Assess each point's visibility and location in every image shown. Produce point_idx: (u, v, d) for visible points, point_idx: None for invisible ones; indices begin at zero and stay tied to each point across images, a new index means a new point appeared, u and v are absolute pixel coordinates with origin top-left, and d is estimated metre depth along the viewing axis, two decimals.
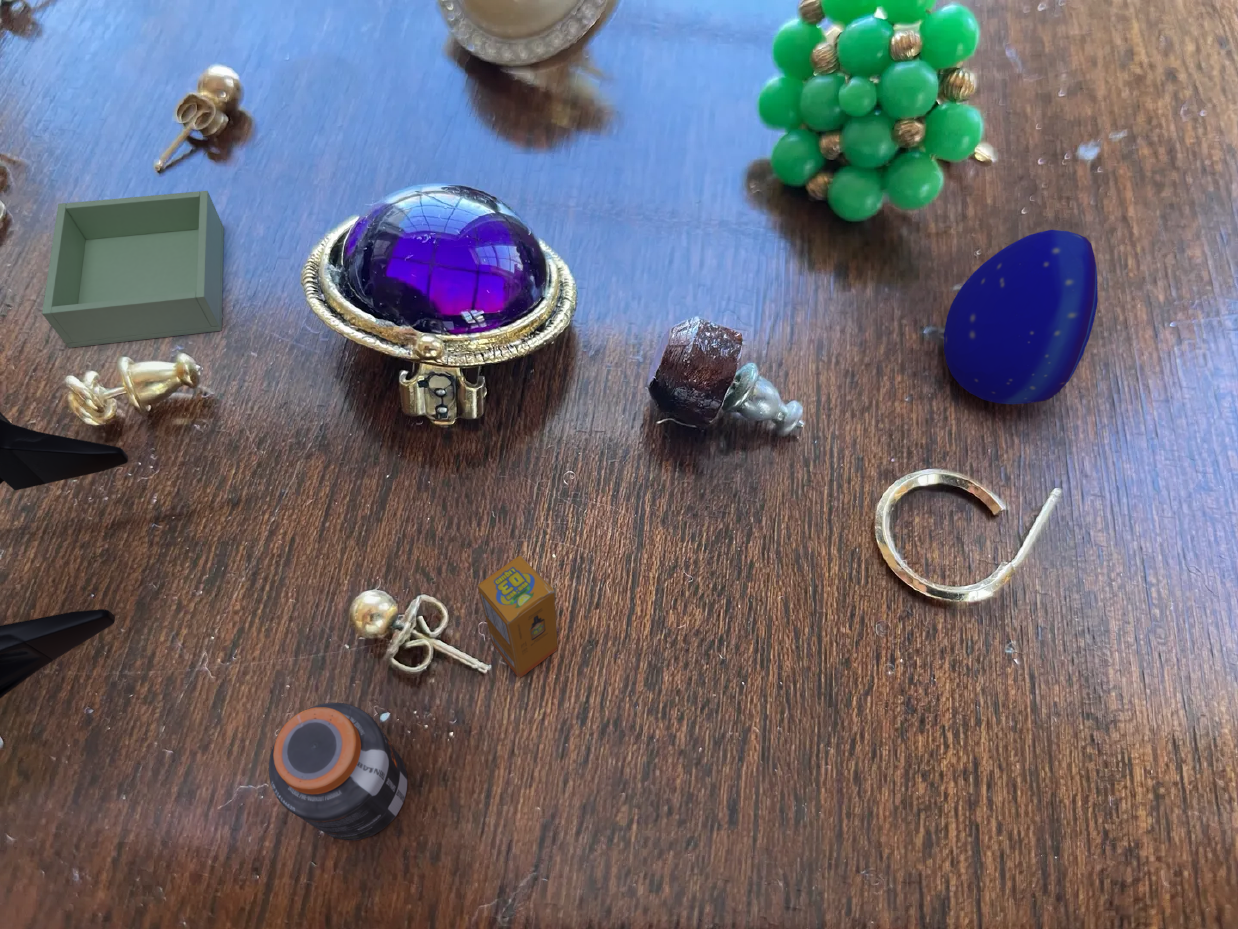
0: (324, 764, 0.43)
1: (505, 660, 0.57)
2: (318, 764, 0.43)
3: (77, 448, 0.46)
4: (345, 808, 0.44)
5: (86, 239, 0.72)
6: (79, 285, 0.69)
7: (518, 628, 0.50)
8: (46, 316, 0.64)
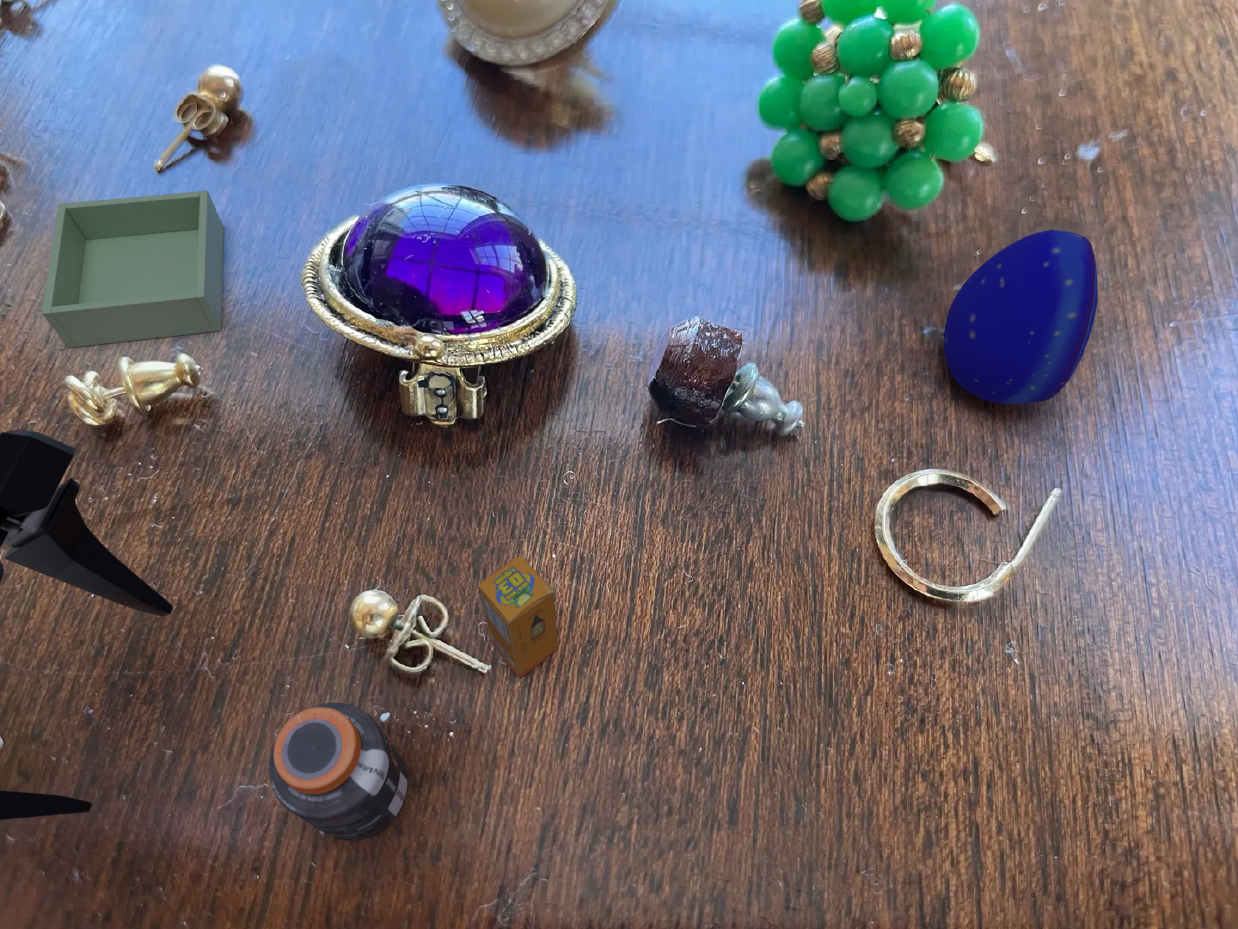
0: (324, 764, 0.43)
1: (505, 660, 0.57)
2: (318, 764, 0.43)
3: (137, 590, 0.42)
4: (345, 808, 0.44)
5: (86, 239, 0.72)
6: (79, 285, 0.69)
7: (518, 628, 0.50)
8: (46, 316, 0.64)
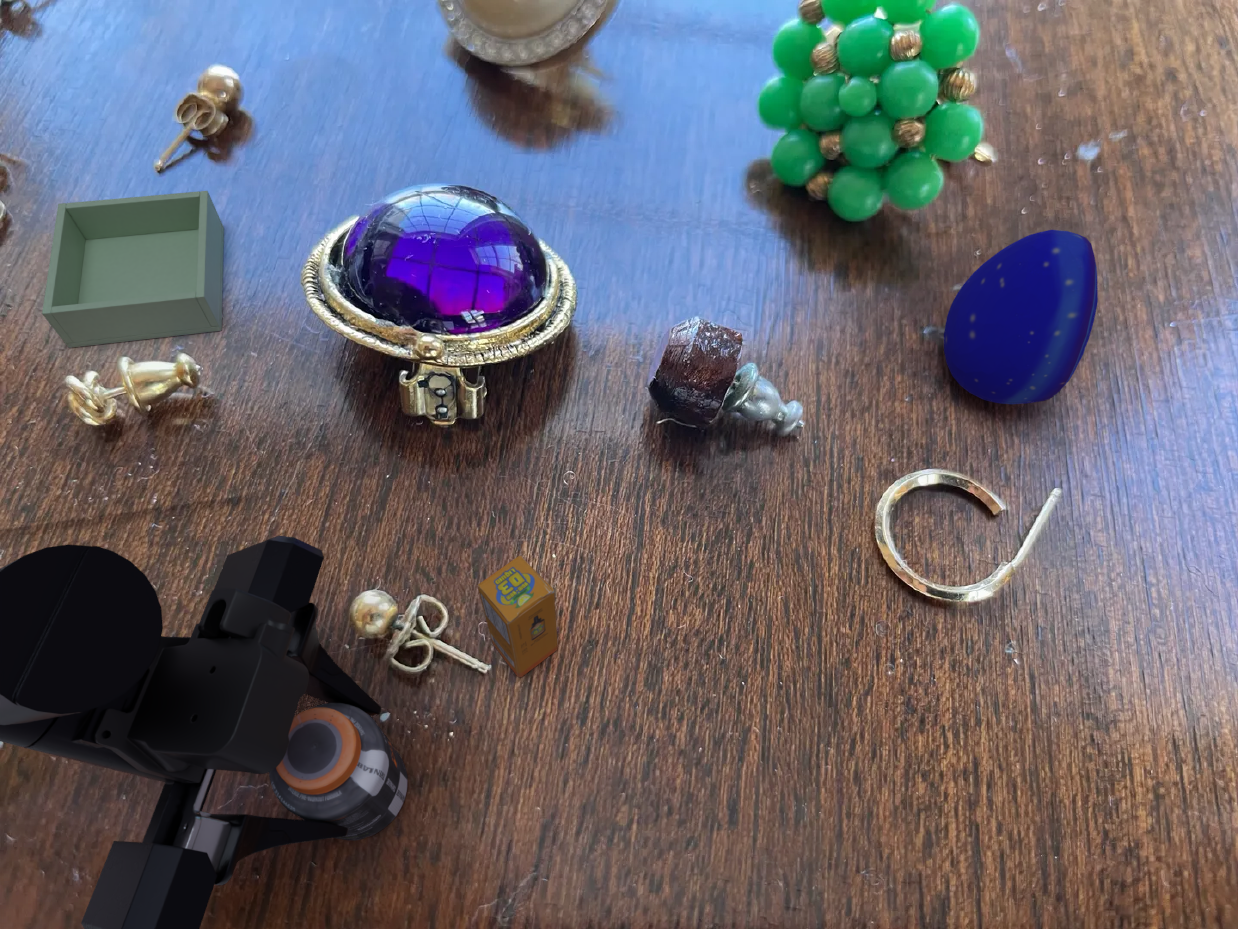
0: (325, 765, 0.43)
1: (505, 660, 0.57)
2: (318, 765, 0.43)
3: (356, 696, 0.47)
4: (345, 808, 0.44)
5: (86, 239, 0.72)
6: (79, 285, 0.69)
7: (518, 628, 0.50)
8: (46, 316, 0.64)
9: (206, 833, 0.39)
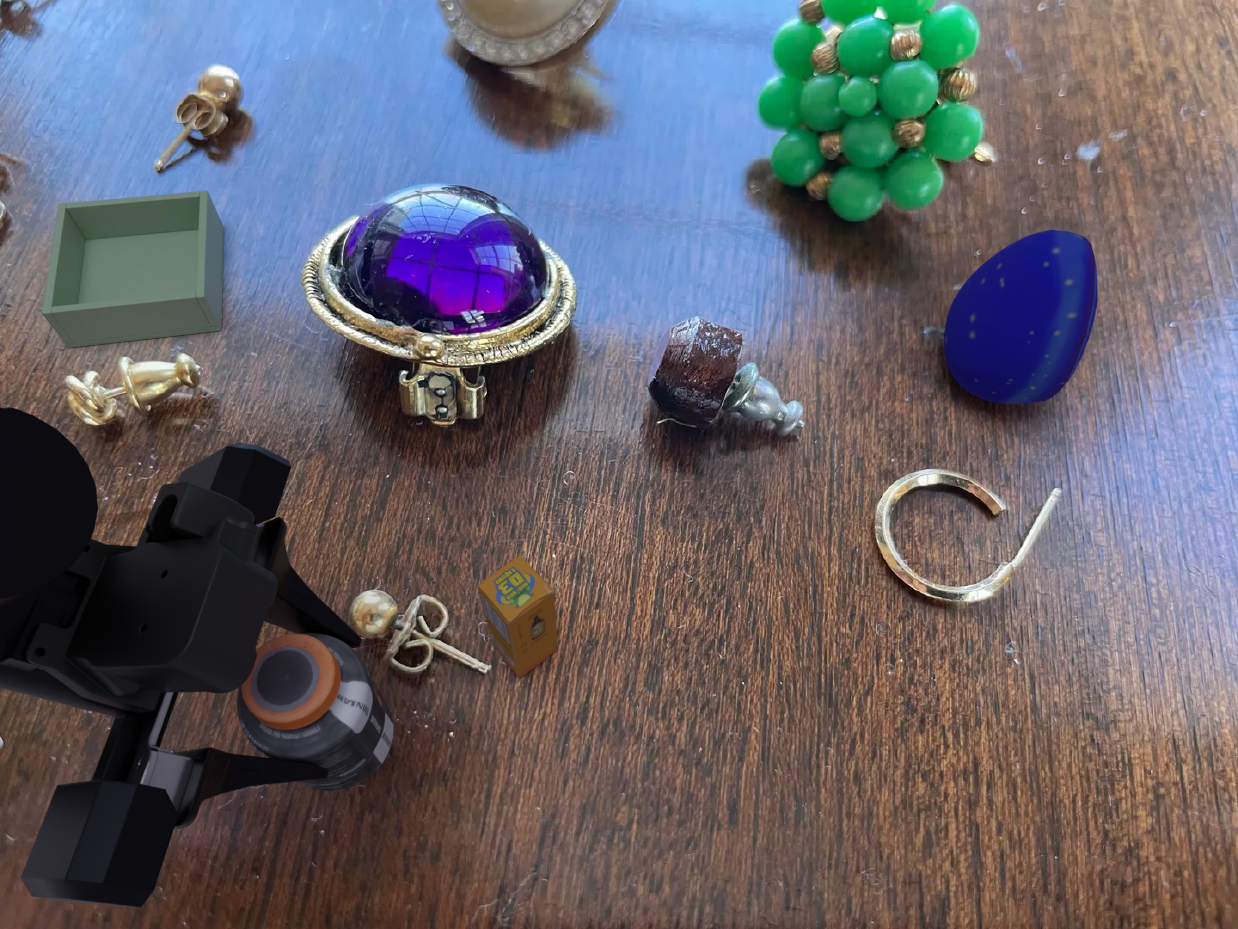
0: (300, 695, 0.38)
1: (505, 660, 0.57)
2: (292, 695, 0.38)
3: (333, 625, 0.42)
4: (325, 746, 0.39)
5: (86, 239, 0.72)
6: (79, 285, 0.69)
7: (518, 628, 0.50)
8: (46, 316, 0.64)
9: (164, 769, 0.34)
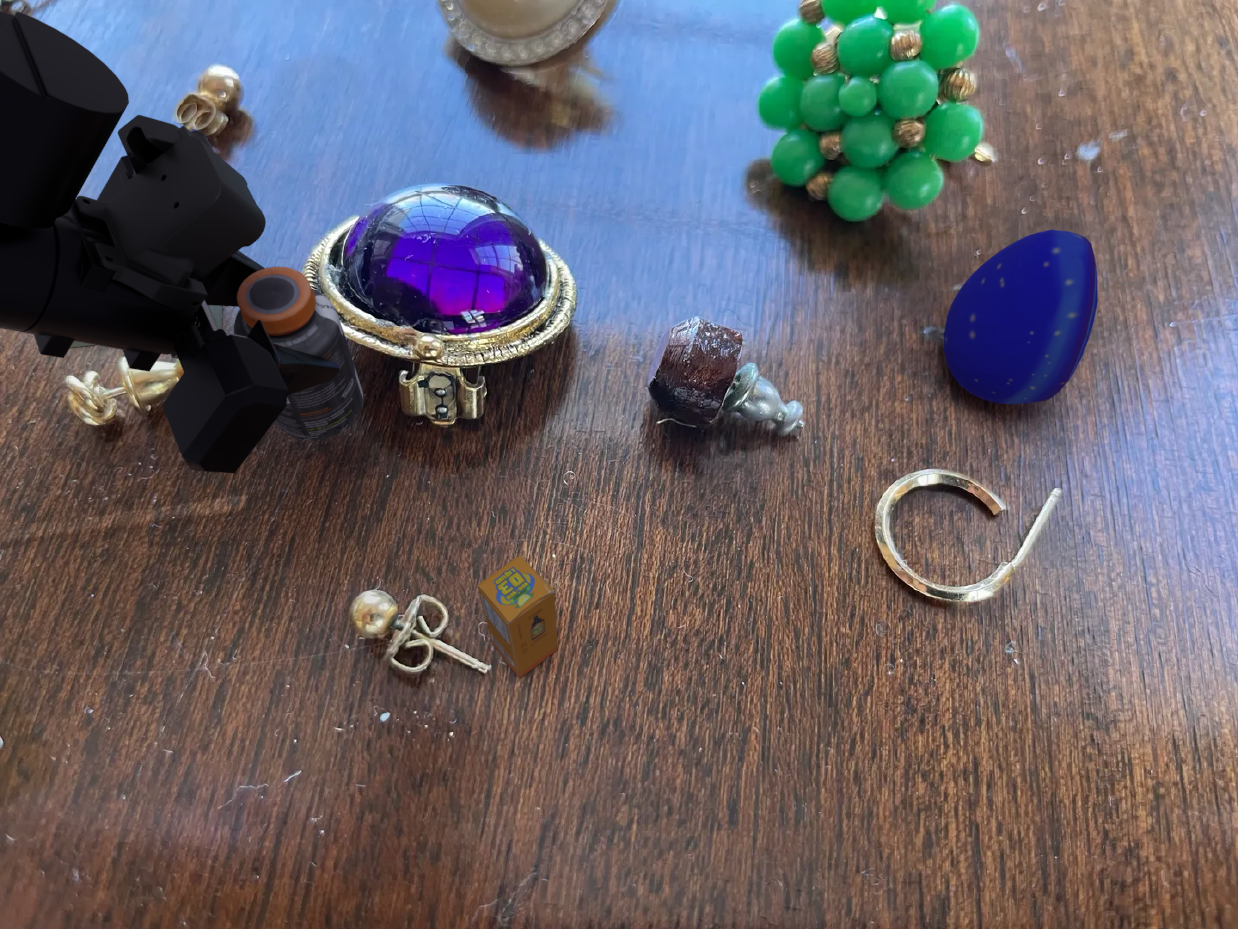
0: (291, 295, 0.48)
1: (505, 660, 0.57)
2: (286, 297, 0.48)
3: None
4: (327, 338, 0.50)
5: None
6: None
7: (518, 628, 0.50)
8: None
9: None
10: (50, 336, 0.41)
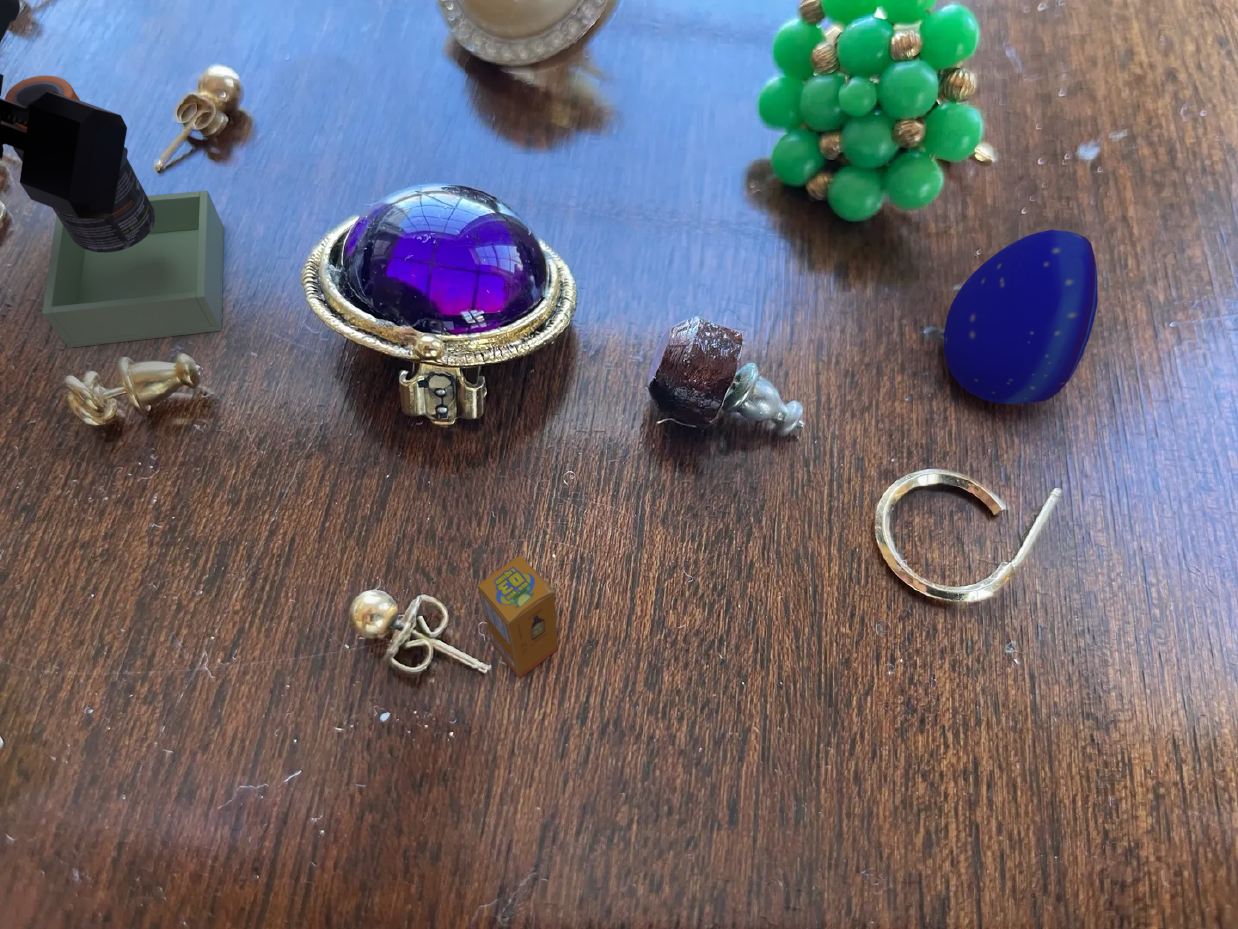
0: (56, 89, 0.55)
1: (505, 660, 0.57)
2: None
3: None
4: None
5: None
6: (79, 285, 0.69)
7: (518, 628, 0.50)
8: (46, 316, 0.64)
9: None
10: None
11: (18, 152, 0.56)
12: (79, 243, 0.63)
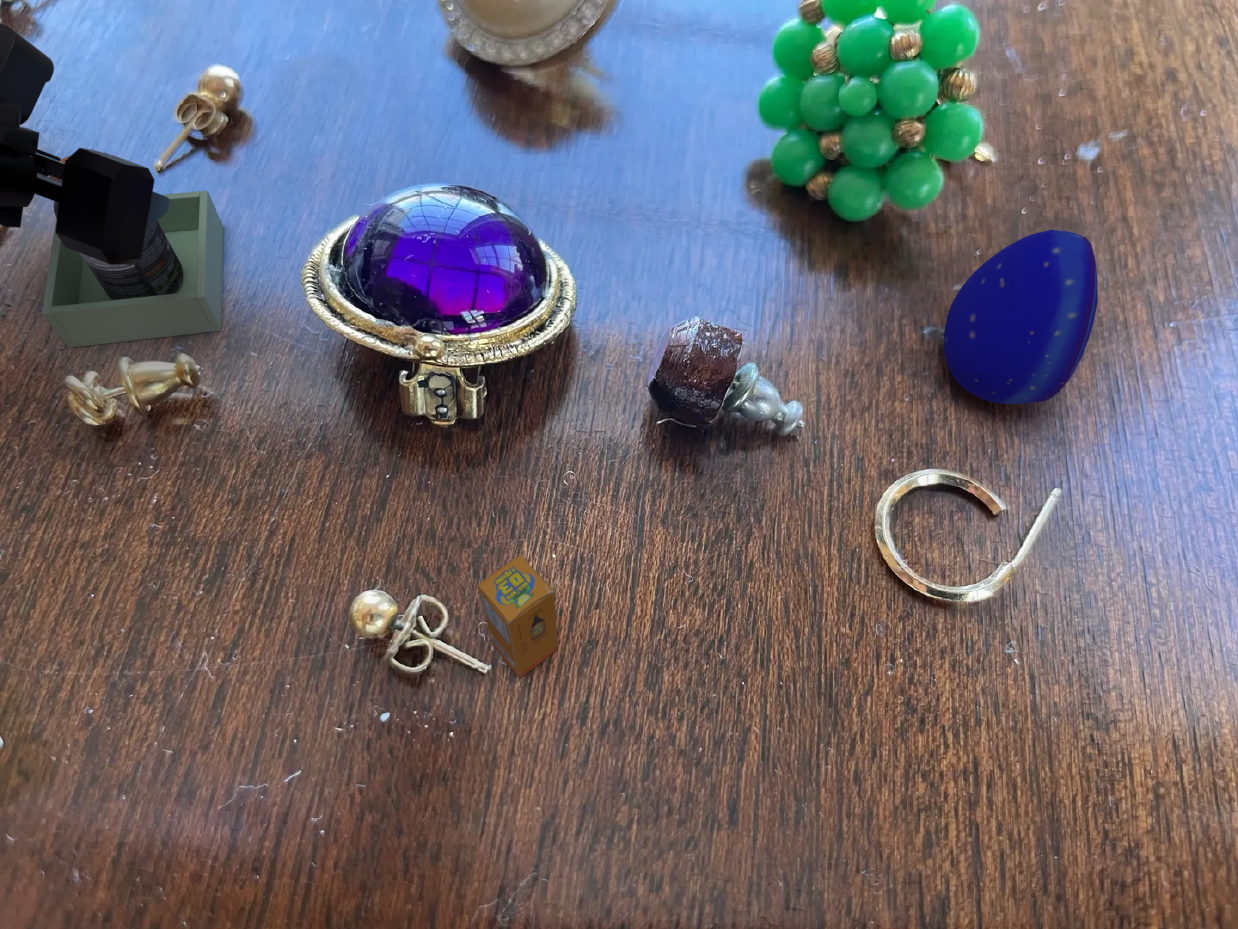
0: None
1: (505, 660, 0.57)
2: None
3: None
4: None
5: None
6: (79, 285, 0.69)
7: (518, 628, 0.50)
8: (46, 316, 0.64)
9: None
10: None
11: None
12: (114, 299, 0.68)
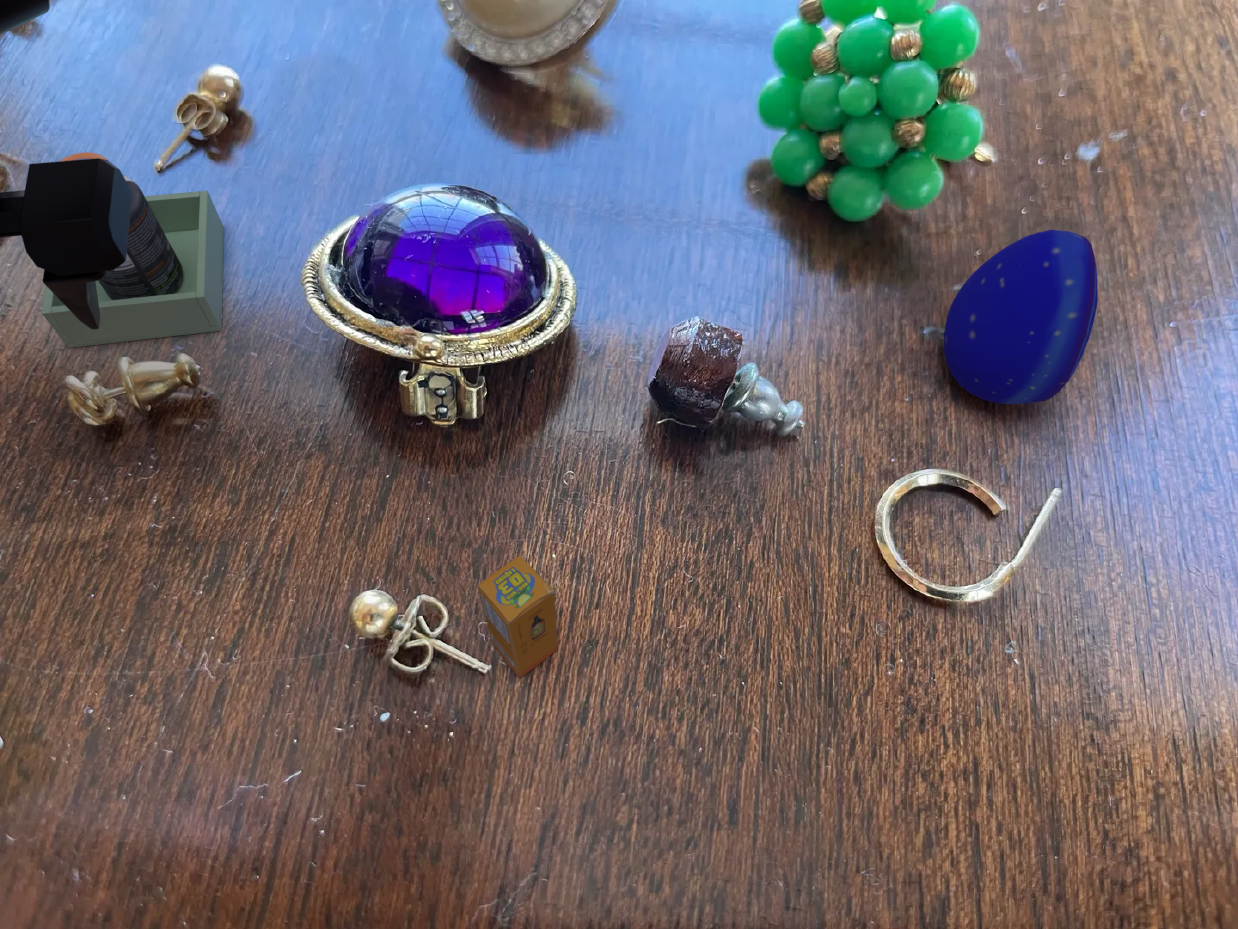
0: None
1: (505, 660, 0.57)
2: None
3: None
4: (138, 193, 0.63)
5: None
6: None
7: (518, 628, 0.50)
8: (46, 316, 0.64)
9: None
10: None
11: None
12: (114, 299, 0.68)
